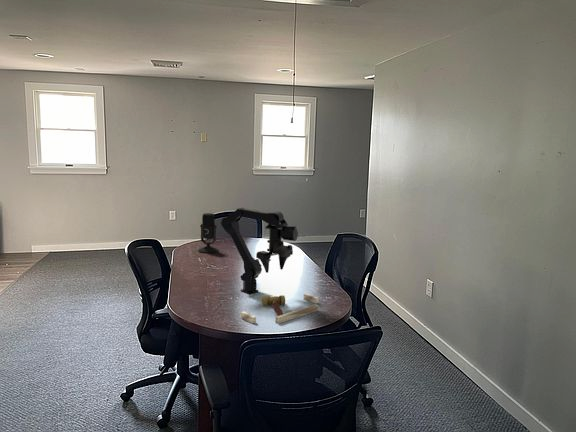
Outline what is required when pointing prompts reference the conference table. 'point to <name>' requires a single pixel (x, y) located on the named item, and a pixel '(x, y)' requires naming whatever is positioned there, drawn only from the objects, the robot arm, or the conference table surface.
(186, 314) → the conference table surface
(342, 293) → the conference table surface
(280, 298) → the gavel
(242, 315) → the wooden bars
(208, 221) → the microphone
